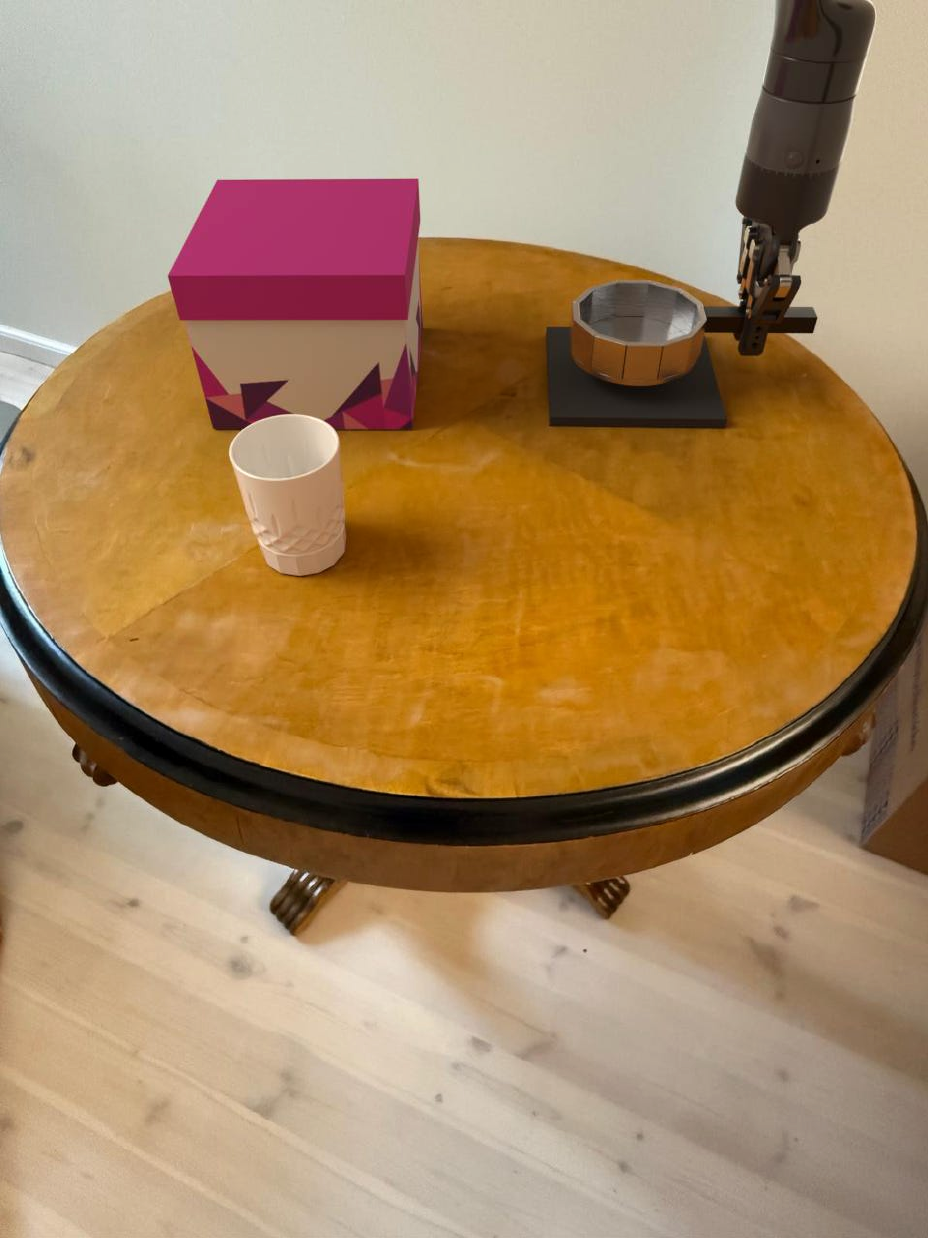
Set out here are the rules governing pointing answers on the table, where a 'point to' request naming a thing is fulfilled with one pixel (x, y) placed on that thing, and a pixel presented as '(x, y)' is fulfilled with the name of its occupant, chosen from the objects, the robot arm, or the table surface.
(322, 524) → the white cup
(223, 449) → the table surface
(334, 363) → the decorative box
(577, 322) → the steel pan
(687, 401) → the trivet
